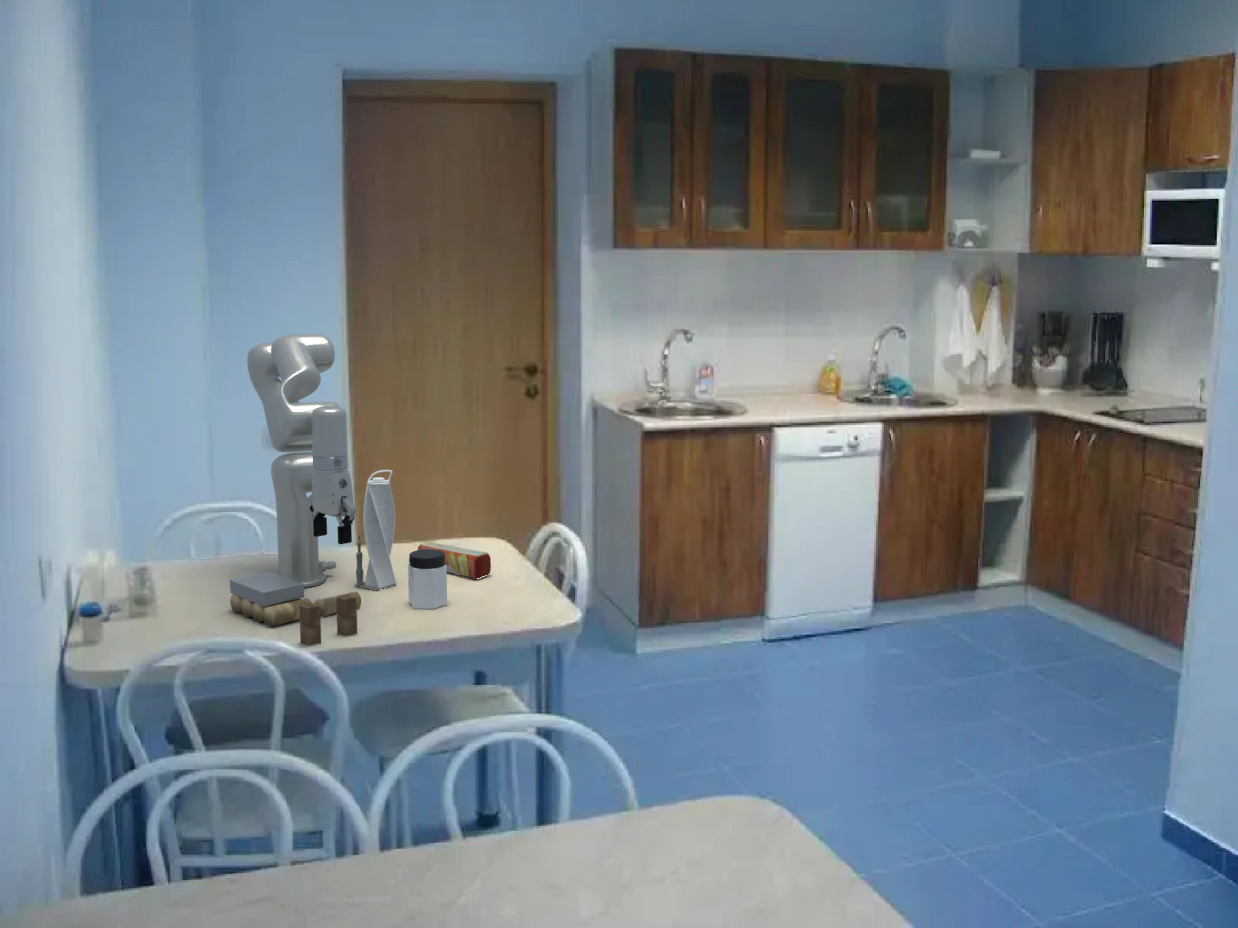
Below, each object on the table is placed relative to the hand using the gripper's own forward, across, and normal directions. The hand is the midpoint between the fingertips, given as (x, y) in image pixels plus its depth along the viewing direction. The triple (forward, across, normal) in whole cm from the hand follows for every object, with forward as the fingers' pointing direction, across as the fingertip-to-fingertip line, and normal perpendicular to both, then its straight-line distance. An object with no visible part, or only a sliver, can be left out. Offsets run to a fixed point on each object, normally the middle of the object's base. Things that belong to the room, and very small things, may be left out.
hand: (332, 539), depth 280 cm
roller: (+15, +1, -2) cm, 15 cm away
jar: (+17, -8, -20) cm, 27 cm away
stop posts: (+17, -14, +10) cm, 24 cm away
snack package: (+17, +11, -41) cm, 46 cm away
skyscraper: (+17, +12, -20) cm, 29 cm away
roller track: (+17, +9, +11) cm, 22 cm away
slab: (+13, +10, +11) cm, 19 cm away
